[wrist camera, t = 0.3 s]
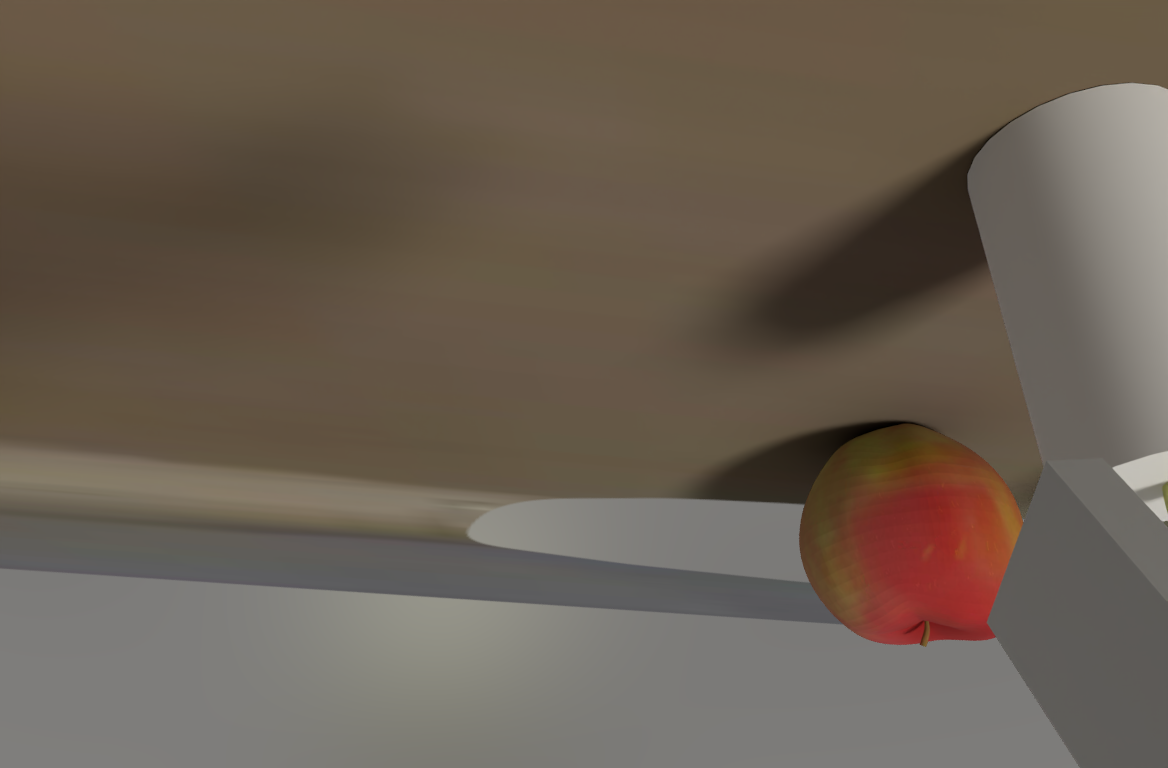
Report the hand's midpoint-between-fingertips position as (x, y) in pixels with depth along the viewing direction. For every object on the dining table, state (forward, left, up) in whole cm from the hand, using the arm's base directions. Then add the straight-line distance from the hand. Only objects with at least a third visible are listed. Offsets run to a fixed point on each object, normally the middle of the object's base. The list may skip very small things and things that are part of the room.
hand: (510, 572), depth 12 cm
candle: (+11, +18, -16) cm, 27 cm away
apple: (+32, +20, -16) cm, 41 cm away
